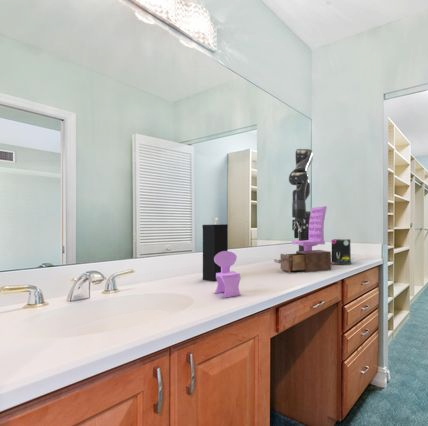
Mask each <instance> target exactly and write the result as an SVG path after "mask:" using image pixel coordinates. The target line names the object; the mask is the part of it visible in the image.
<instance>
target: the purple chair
mask: <svg viewBox="0 0 428 426" xmlns="http://www.w3.org/2000/svg"><path fill="white" fill-rule="evenodd" d="M327 209H328V207H327V205H326V206H325V205H324V206H314V207H311V209H310V212H311V215H310V220H309V240H305V241H299V240H291V245H298V246H299V245H301V246H304V251H308V250H313V247H315V246H318V245H325V244H326V241H325V234H324V228H325V227H324V226H325V220H326V219H325V218H326V213H327Z"/></svg>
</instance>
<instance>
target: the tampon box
mask: <svg viewBox="0 0 428 426" xmlns="http://www.w3.org/2000/svg"><path fill="white" fill-rule="evenodd" d="M330 242H331V265H346V266H347V265H348V266H350V264H351V263H352V255H351V250H352V249H351V239H350V238H348V239H346V238H345V239H343V238H334V239H331V241H330Z"/></svg>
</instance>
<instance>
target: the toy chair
mask: <svg viewBox="0 0 428 426" xmlns="http://www.w3.org/2000/svg"><path fill="white" fill-rule="evenodd" d="M237 259H238V257H237V255H236V253H235V252H233V251H230V250H228V251H222V252H219V253H218V254H216V255H215V257H214V262H215V263H216V264H217V265H218V266H220V267H221V273H216V279H217V281H216V283H217V284H216V285H217V286H216V289H215V291H214V294H220V293H221V294H222V293H223V295H222V297H221V298H222V299H224V298H231V297H237V296H241V292H240V286H239V285H240V281H241V273H239V272H236V271H234V270H231V267H232V266H234V265H235V263H236V261H237Z"/></svg>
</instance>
